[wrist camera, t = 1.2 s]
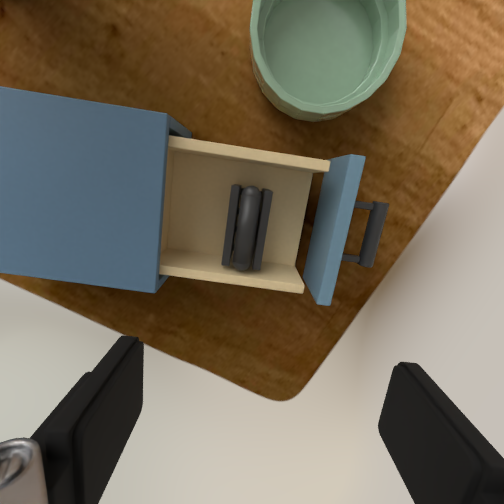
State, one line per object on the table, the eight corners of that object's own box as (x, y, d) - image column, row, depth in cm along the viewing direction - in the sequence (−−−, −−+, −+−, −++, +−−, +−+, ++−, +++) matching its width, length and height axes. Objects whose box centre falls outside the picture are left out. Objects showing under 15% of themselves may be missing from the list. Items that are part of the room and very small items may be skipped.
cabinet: (191, 132, 28) (167, 113, 20) (180, 263, 31) (155, 293, 23) (8, 102, 27) (-98, 70, 19) (17, 240, 31) (-70, 263, 22)
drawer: (381, 168, 28) (421, 165, 22) (351, 284, 31) (378, 312, 25) (170, 134, 27) (145, 120, 21) (161, 257, 30) (137, 280, 24)
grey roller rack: (234, 181, 27) (231, 182, 22) (269, 186, 27) (274, 189, 22) (225, 253, 29) (219, 270, 24) (258, 257, 29) (260, 276, 24)
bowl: (261, -42, 24) (263, -85, 20) (397, -16, 25) (426, -53, 21) (241, 111, 28) (240, 100, 23) (363, 131, 28) (383, 123, 24)
